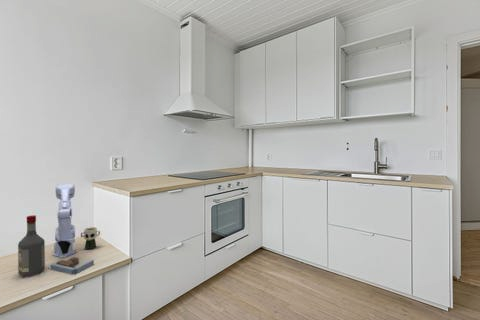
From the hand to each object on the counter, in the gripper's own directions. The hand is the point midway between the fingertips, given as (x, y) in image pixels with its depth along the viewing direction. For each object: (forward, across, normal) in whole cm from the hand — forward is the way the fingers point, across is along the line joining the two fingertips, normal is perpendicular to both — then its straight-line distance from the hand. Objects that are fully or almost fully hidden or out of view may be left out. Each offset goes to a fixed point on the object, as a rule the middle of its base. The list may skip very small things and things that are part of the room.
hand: (65, 253), depth 131 cm
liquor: (+6, +5, +13) cm, 15 cm away
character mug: (+6, +8, -20) cm, 22 cm away
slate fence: (+6, -7, 0) cm, 9 cm away
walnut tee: (+6, -6, +1) cm, 8 cm away
